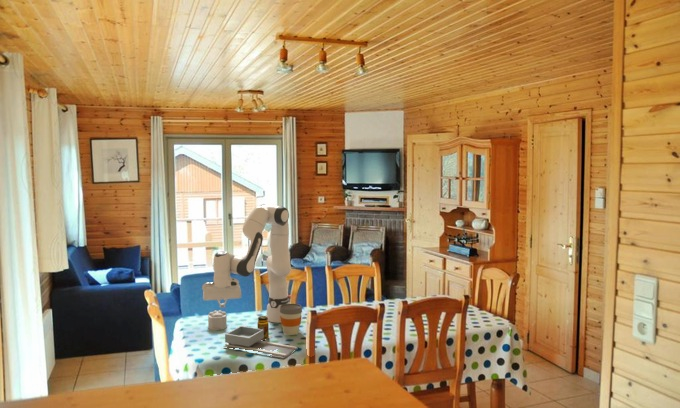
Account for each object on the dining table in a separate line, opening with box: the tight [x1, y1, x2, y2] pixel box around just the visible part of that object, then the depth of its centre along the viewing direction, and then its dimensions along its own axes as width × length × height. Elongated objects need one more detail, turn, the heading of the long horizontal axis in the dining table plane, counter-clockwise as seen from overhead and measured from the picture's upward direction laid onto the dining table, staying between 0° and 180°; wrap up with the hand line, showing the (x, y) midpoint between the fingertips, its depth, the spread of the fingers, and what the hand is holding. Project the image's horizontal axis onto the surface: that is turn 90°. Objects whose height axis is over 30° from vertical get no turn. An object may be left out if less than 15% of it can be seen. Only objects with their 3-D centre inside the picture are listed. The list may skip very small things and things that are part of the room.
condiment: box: [257, 315, 272, 341], centre depth 310 cm, size 7×8×12 cm
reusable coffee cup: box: [280, 303, 303, 336], centre depth 320 cm, size 13×13×15 cm
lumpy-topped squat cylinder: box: [207, 309, 228, 331], centre depth 329 cm, size 10×13×9 cm
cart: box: [224, 325, 264, 347], centre depth 298 cm, size 15×15×6 cm
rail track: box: [223, 340, 299, 360], centre depth 295 cm, size 16×36×2 cm, turn 66°
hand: (222, 307), depth 302 cm, fingers closed
